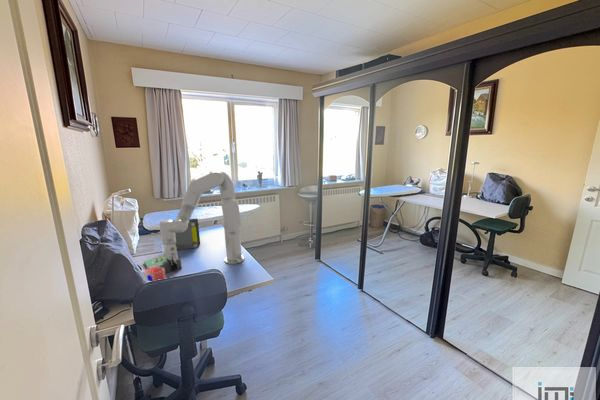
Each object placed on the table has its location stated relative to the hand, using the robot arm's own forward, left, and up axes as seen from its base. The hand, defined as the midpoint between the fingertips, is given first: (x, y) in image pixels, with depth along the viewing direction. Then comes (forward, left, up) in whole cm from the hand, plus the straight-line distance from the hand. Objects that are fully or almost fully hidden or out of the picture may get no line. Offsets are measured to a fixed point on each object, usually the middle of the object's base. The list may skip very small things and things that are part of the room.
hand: (172, 267), depth 160 cm
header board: (+15, +2, -1) cm, 15 cm away
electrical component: (+31, -19, -2) cm, 36 cm away
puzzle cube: (-9, +12, -2) cm, 15 cm away
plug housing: (0, 0, -1) cm, 1 cm away
